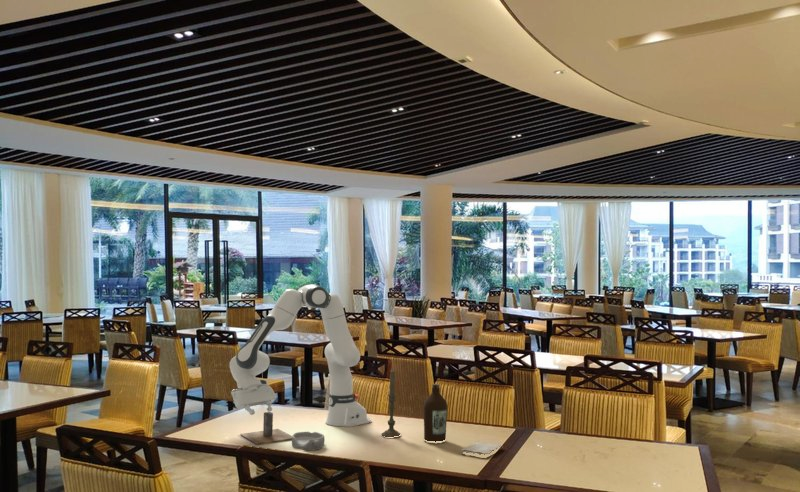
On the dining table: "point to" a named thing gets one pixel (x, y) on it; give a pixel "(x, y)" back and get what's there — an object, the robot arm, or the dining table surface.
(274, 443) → the mat
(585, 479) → the dining table surface
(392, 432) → the candlestick holder
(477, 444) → the washcloth
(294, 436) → the dish
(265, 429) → the lid
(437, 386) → the olive oil
